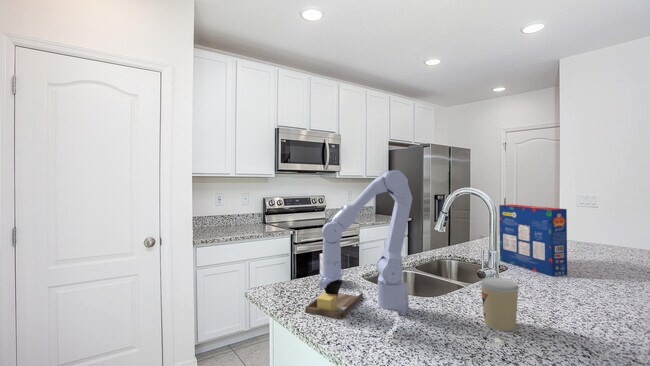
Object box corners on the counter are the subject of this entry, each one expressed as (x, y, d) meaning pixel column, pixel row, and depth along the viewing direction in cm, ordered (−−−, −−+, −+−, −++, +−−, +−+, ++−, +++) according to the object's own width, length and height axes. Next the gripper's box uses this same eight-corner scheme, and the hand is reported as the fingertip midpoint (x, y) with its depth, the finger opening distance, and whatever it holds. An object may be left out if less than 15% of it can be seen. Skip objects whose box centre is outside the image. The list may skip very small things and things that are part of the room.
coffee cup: (485, 315, 97) (485, 275, 97) (521, 323, 91) (521, 281, 91) (477, 326, 90) (476, 283, 90) (515, 336, 84) (515, 290, 84)
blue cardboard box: (567, 275, 136) (566, 209, 135) (552, 276, 134) (551, 209, 134) (513, 259, 163) (512, 204, 163) (499, 260, 161) (499, 205, 161)
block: (337, 309, 99) (336, 294, 99) (330, 315, 95) (330, 300, 95) (324, 306, 101) (323, 292, 101) (317, 312, 97) (316, 298, 97)
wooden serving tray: (363, 300, 110) (362, 292, 110) (342, 323, 93) (342, 313, 93) (330, 295, 115) (330, 288, 115) (305, 316, 98) (305, 307, 98)
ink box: (336, 287, 123) (336, 257, 123) (324, 288, 122) (323, 258, 122) (331, 281, 132) (331, 252, 132) (319, 282, 131) (319, 253, 131)
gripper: (329, 254, 109) (330, 294, 110) (309, 265, 96) (310, 310, 96) (349, 256, 106) (349, 297, 107) (331, 267, 93) (331, 314, 93)
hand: (332, 303), depth 101 cm, fingers closed
